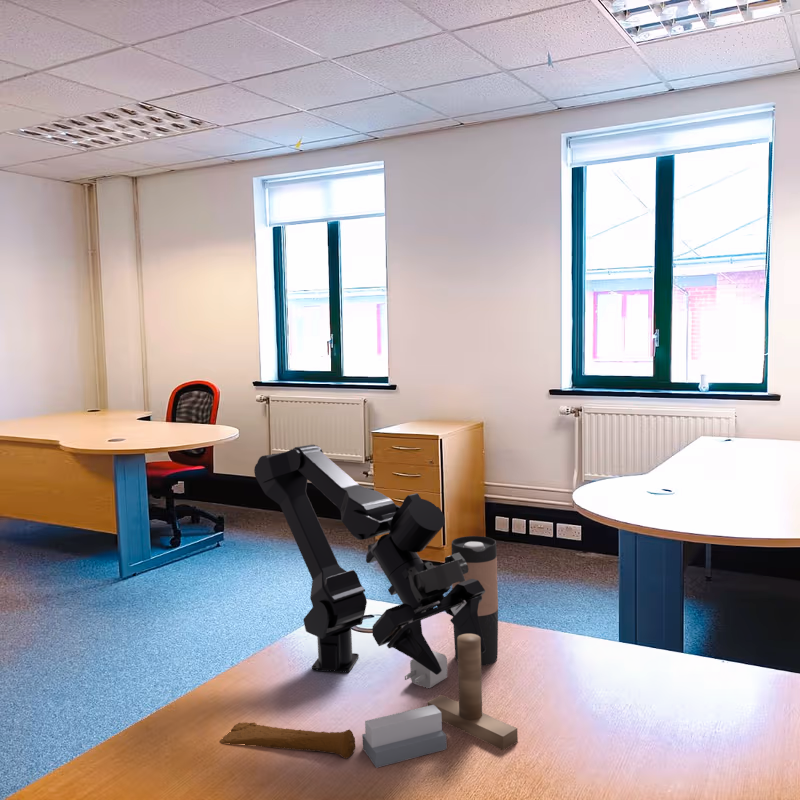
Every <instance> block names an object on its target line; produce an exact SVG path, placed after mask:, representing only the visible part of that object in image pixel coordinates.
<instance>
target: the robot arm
mask: <svg viewBox="0 0 800 800" xmlns="http://www.w3.org/2000/svg"><path fill="white" fill-rule="evenodd" d="M253 471H254V473H253V474H254V476H255V479H256V480H257V482H258V485H259V486H260V487H261V488H260V489H262V491H263V493H264V494H265V496H267V498H269V499H271V500H272V501H274V502H275V503H277V505H279V507H280V509H281V510H282V513H283V515H284V518H285V520H286V522H287V524H288V527H289V528H290V531H291V533H292V536H293V538H294V540H295V543H296V545H297V548H298V549H299V552H300V555H301V556H302V557H301V558H303V561H304V564H305V566H306V568H307V571H308V572H309V574H310V575H309V576H310V577H311V580H312V582H311V589H310V599H309V600H310V602H311V605H312V608H311V609H310V610H309V612H308V613H307V614H306V615H305V616H304V617H303V624H304V629H305V632H306V633H309V634H310V635H313V636H315V637H317V655H318V658H316V660H315V661H314V663H313V664H312V666H311V670H312V671H320V672H321V671H322V672H335V673H350V672H351V669H352V668H354V665H355V663H356V662H357V660H358V659H359V657H360V656H359V653H355V652H354V653H353V640H352V639H353V638H352V636H353V635H352V628H354V627H356V626H361V625H363V620H364V618H365V613H366V608H367V604H368V601H367V597H366V594H365V592H366V589H365V588H364V586H363V585H362V584H361V581H360V579H359V576H358V573H357V572H356V571H355V569H350V570H345V569H344V568H343V567H342V566H340V564H339V562H338V559H337V558H336V556H335V553H334V552H333V549H332V547H331V544H330V543H329V541H328V538H327V536H326V534H325V532H324V529H323V527H322V526H321V525H322V524H321V522H320V521H319V518H318V516H317V514H316V512H315V509H314V508H313V505H312V502H311V501H310V498H309V496H308V494H307V486H308V482H309V483H311V484H312V485H313V486H315V488H316V489H318V490H319V491H320V492H321V493H322V494H323V495H324V496H325V497H326V498H327V500H329V501H330V502H331V503H333V505H335V506H336V507H337V509H338V510H339V512H340V517H341V518H340V519H341V522H342V523H343V525H344V526H345V527H346V529H347V530H348V532H350V534H351V535H352V536H353V537H354V538H355V539H356V540H358V541H359V540H360V541H364V540H367V539H368V540H369V539H370V538H374V537H378V536H380V537H379V538H378V539H377V541H376V542H374V543H371V544H368V545H367V552H366V556H365V562H366V563H367V564H370V563H374V562H377V564H378V565H379V566H380V568H381V570H382V571H383V573H384V575H385V577H386V578H387V580H388V581H389V583H390V584H391V585H390V587H389V588H388V589H387V591H388V592H389V594H390V595H391V596H394V595H397V597H399V600H400V601H401V604H399V605H395V606H392V607H391V608H388V609H386V610H385V611H384V612H383V613H382V614H381V615H380V617H379V618H378V619H377V620H376V621H375V623H374V624H373V625H372V636H373V639H374V640H375V642H376V644H377V645H378V647H381V646H384V645H386V647H387V648H388V649H395V650H397V651H398V652H400V653H402V654H403V655H406V656H407V657H409V658H411V660H412V659H414V660H415V661H417V662H418V663H420V664H421V665H423V666H424V667H426V668H427V669H429V670H430V671H432V672H433V673H434V674H436V675H438V674H439V673H440V672H441V671H442V669H441V667H440V665H439V663H438V661H437V659H436V657H435V655H434V653H433V652H432V651H433V650H432V648H431V647H430V645H429V643H428V642H427V639H426V638H425V636H424V634H423V628H422V621H423V620H426V619H427V618H430V617H433V616H435V615H438V614H441V613H442V612H445V613H446V614H447V615H449V616H451V617H452V618H451V619H449V621H450V622H451V623H452V625H453V624H454V626H455V627H456V628H457V629H458V630H459V631H460V632H461V634H476V635H478V636H480V638H481V654H482V653H484V652H485V651H486V647H485V643H484V639H483V635H482V632H481V628H480V624H479V619H478V605H479V603H480V602H481V600H482V595H483V594H484V593H485V592H486V591H485V589H484V588H483V586H482V585H481V583H480V582H479V580H476V579H469V580H467V581H465V578H464V575H463V574H466V573H468V570H469V569H468V565H467V563H466V561H465V559H464V558H463V557H462V556H461V554H460V553H456V554H453V555H452V554H450V555H448V556H445V558H444V564H440V565H438V566H434V565H433V562H431V561H429V560H428V561H425V562H423V560H422V558H421V557H420V555H419V553H420V552H422V551H424V550H425V549H426V547H427V546H428V545H429V544H430V543H431V541H432V540H433V539H434V538H435V537H436V535H438V533H439V532H440V531H441V530H442V529H443V527H444V526H445V521H446V520H445V519H446V518H445V515H444V513H443V511H442V510H441V508H440V507H439V506H437V505H435V504H434V503H433V502H431V501H429V500H428V499H423V498H421V496H420V494H419V493H417V492H416V493H412V494H408V495H406V497H405V498H404V500H403V502H402V504H401V505H397V504H395V502H394V501H393V500H392V499H391V498H390V497H388V496H386V495H384V493H382V492H379V491H377V490H374V489H371V488H367V487H364V486H362V485H360V484H359V483H358V482H356V481H355V480H354V479H353V478H352V477H351V476H350V475H349V474H347V473H346V471H344V470H343V469H342V468H340V466H338V465H337V464H336V463H335V462H334V461H332V460H331V458H329V457H328V456H327V455H326V454H324V451H323V449H322V448H321V447H320V446H318V445H316V444H309V445H302V446H301V445H300V446H295V447H293V448H291V449H290V450H287V451H284V452H278V453H271V454H266V455H261V456H260V457H259V458H258V460H257V462H256V464H255V465H254V470H253ZM463 581H464V582H463ZM456 582H461V583H458V584H457V585H456V586H455V587H454V588H453V589H452V588H451V587H452V584H453V583H456ZM450 589H451V590H450ZM448 591H449V592H448ZM446 593H447V594H446ZM444 594H446V595H444ZM453 616H454V617H453ZM454 626H453V627H454Z"/></svg>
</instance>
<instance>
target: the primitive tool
mask: <svg viewBox="0 0 800 800" xmlns="http://www.w3.org/2000/svg"><path fill="white" fill-rule="evenodd" d="M230 730H231V732H229V731H228V732H229V733H228V732H227V733H228V734H227V733H226V734H227V735H226V734H225V735H224V736H222V738H223V739H222V738H221V739H220V740H219V743H220V742H222V743H221V744H223V743H230V744H229V745H232V744H245V745H244V746H248V745H256V746H255V747H261V746H262V747H261V748H276V749H283V750H284V749H286V750H294V751H295V750H297V751H314V752H324V753H332V754H336V755H338V756H339V755H340V757H342V758H344V759H349V758H350V757H351V756H352V755H353V754H354V752H355V749H356V737H355V736H354V733H353V731H352V730H351V729H347V730H345V731H341V732H340V731H337V732H335V731H334V732H333V731H332V732H331V731H330V732H325V731H313V730H304V729H303V730H302V729H293V728H282V727H276V726H275V727H273V726H268V725H264V724H263V725H260V724H257V723H256V722H238V723H236V724H234V725H233V727H232V728H231V729H230Z"/></svg>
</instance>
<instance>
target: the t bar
mask: <svg viewBox="0 0 800 800" xmlns="http://www.w3.org/2000/svg"><path fill="white" fill-rule="evenodd" d="M457 646H458V661H457V675H458V676H457V677H458V678H457V679H458V681H457V682H458V684H457V685H458V700H455V699H452V698H450V697H448V696H445V695H444V694H440V695H438V696H436V697H434V698H432V699H430V700H428V701H427V706H430V705H435V706H436V707H437V708H438V709H439V710H440V711H441V714H442V723H445V724H447V725H449V726H451V727H453V728H456V729H458V730H460V731H462V732H463V733H466V734H468V735H470V736H472V737H474V738H477V740H480V741H483V742H485V743H487V744H488V745H491V746H493V747H495V748H497V749H499V750H502V751H505V750H507V749H509V748H510V747H512V746H513V745H515V744H516V743H518V741H519V740H518V727H515V725H511V724H510V723H507V722H504V721H503V720H500V719H498V718H496V717H493V716H491V715H489V714H487V713H484V712H483V694H482V693H483V692H482V691H483V690H482V684H483V683H482V666H481V638H480V636H478V635H476V634H462V635H459V636H458V637H457Z"/></svg>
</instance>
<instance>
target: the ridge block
mask: <svg viewBox="0 0 800 800" xmlns="http://www.w3.org/2000/svg"><path fill="white" fill-rule="evenodd" d="M442 723H443V721H442V714H441V711H440V710H439V709H438V708H437V707H436V706H435V705H430V706H428V705H427V706H423V707H418V708H415V709H409V710H405V711H402V712H401V711H400V712H396V713H393V714H388V715H385V716H384V715H383V716H380V717H377V718H371V719H367V720H365V721H364V727H365V730H364V732H365V733H362V735H361V736H362V737H361V738H362V750H363V751H364V753H365V754H366V755H367V757H368V758H369V759H370V761H371V763H373V765H374V767H375V768H380V767H384V766H388V765H393V764H397V763H400V762H404V761H408V760H411V759H414V758H415V759H416V758H420V757H422V756H425V755H426V756H427V755H430V754H434V753H438V752H441V751H446V750H447V747H448V745H447V734H446V733H445V732H444V731H443V724H442Z"/></svg>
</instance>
